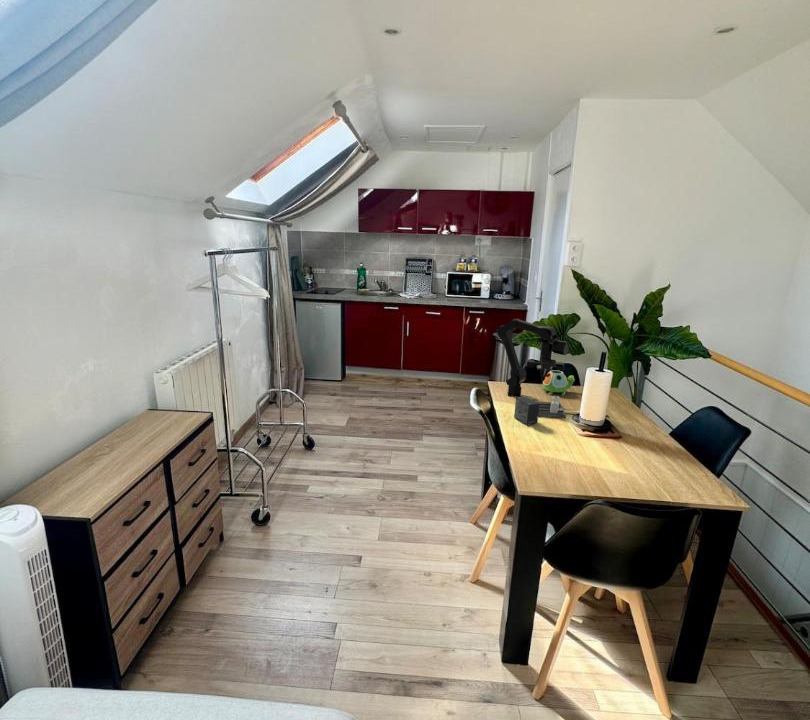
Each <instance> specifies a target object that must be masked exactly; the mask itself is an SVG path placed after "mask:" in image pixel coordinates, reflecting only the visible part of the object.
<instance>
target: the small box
mask: <svg viewBox="0 0 810 720" xmlns="http://www.w3.org/2000/svg"><path fill="white" fill-rule="evenodd" d="M536 401H537V400H534V399H532V398H530V397H528V396H520V397H515V402H514V403H515V404H514V405H515V406H514V416H513V419H515V420H517V421H518V422H521V424H523V425H524V426H534V425H537V424H538V420H539V416H538V413H539V404H540V403H538V402H536Z"/></svg>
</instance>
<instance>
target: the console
mask: <svg viewBox="0 0 810 720" xmlns="http://www.w3.org/2000/svg"><path fill="white" fill-rule="evenodd" d="M535 401H536V402H538V403H540V404H539V413H538V418H539V417H541V418H554V419H567V414H566V412H565V410H564V407H563V406H562V403H561V402H560V401H559V408H558V413H557V414H556V413H551V412H550V407H551V401H539V400H535Z"/></svg>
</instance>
